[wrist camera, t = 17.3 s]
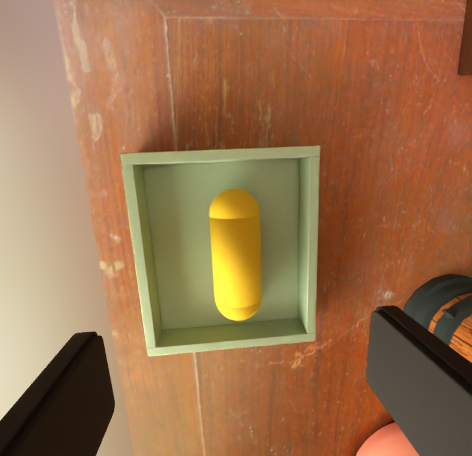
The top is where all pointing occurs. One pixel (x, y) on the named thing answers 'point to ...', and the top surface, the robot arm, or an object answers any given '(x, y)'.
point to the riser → (467, 43)
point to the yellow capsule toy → (236, 253)
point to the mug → (445, 311)
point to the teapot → (387, 443)
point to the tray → (200, 253)
